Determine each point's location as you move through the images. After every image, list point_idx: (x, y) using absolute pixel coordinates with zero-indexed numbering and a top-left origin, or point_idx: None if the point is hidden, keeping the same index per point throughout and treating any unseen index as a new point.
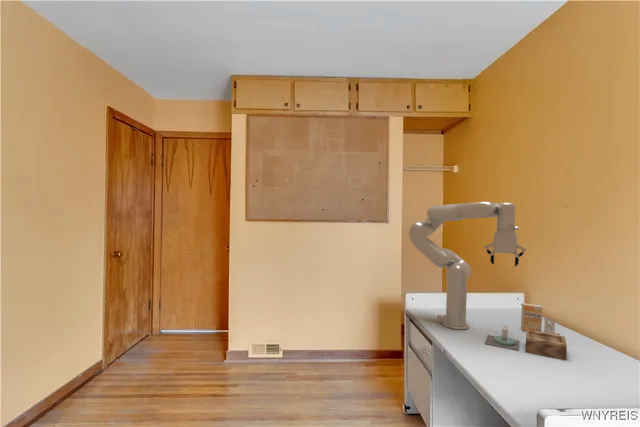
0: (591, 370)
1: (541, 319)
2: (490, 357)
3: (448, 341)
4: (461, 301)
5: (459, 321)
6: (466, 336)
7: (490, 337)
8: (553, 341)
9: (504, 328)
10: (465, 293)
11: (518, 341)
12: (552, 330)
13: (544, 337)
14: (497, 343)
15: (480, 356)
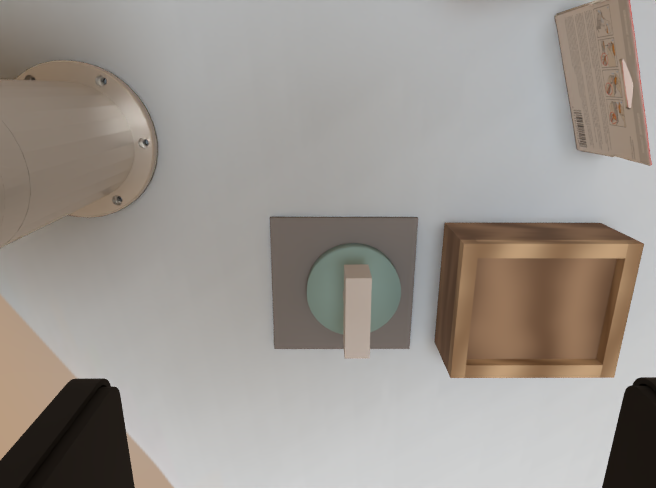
0: None
1: None
2: (312, 468)
3: (137, 400)
4: (31, 229)
5: (99, 198)
6: (183, 290)
7: (286, 252)
8: (568, 320)
9: (354, 337)
10: (8, 212)
11: (412, 231)
12: (611, 131)
13: (538, 279)
14: None
15: (280, 478)
